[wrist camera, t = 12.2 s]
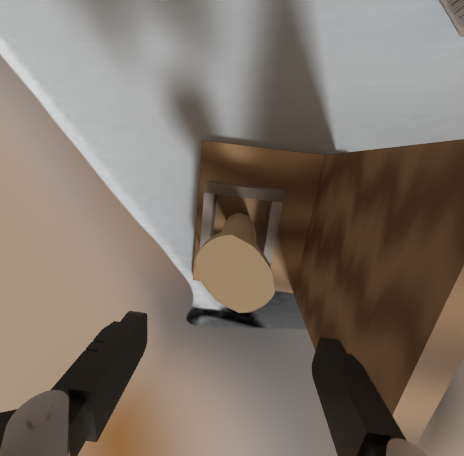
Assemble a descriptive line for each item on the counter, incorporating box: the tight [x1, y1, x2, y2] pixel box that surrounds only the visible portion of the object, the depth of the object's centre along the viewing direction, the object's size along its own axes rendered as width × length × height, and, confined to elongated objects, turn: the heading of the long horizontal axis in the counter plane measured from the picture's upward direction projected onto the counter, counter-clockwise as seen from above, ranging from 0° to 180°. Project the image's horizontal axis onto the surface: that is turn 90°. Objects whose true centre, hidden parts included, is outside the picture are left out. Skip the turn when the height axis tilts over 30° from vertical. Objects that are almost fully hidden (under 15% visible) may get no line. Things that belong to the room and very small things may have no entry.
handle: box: [195, 211, 275, 313], centre depth 23 cm, size 5×6×15 cm
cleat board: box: [193, 139, 464, 445], centre depth 21 cm, size 20×19×21 cm
